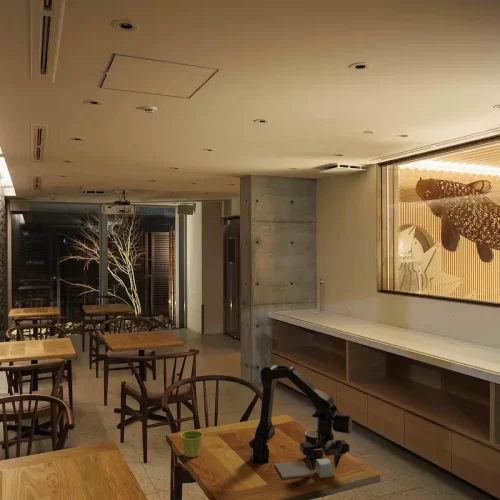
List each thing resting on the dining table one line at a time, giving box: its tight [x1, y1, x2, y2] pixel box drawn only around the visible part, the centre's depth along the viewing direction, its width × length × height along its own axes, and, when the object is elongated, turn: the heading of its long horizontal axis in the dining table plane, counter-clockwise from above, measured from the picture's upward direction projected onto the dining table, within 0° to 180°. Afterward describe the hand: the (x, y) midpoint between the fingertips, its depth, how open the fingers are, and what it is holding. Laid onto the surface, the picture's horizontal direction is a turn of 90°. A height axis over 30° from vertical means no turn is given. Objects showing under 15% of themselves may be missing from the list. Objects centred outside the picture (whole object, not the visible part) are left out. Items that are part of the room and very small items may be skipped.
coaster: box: [274, 460, 314, 480], centre depth 203 cm, size 12×12×1 cm
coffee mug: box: [304, 429, 324, 461], centre depth 217 cm, size 12×9×10 cm
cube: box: [315, 457, 334, 478], centre depth 200 cm, size 5×5×5 cm
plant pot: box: [180, 430, 204, 458], centre depth 217 cm, size 9×9×9 cm
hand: (324, 469), depth 201 cm, fingers open, 9 cm apart
